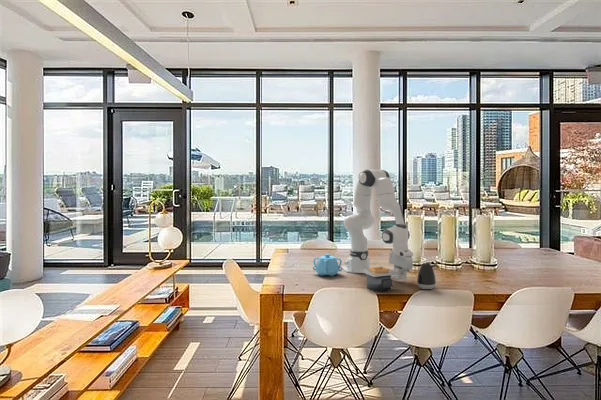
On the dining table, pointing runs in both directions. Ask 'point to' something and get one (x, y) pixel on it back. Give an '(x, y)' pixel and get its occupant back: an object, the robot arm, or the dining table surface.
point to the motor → (379, 280)
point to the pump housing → (400, 273)
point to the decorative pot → (327, 265)
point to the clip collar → (378, 269)
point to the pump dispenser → (426, 276)
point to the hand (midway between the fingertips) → (400, 273)
